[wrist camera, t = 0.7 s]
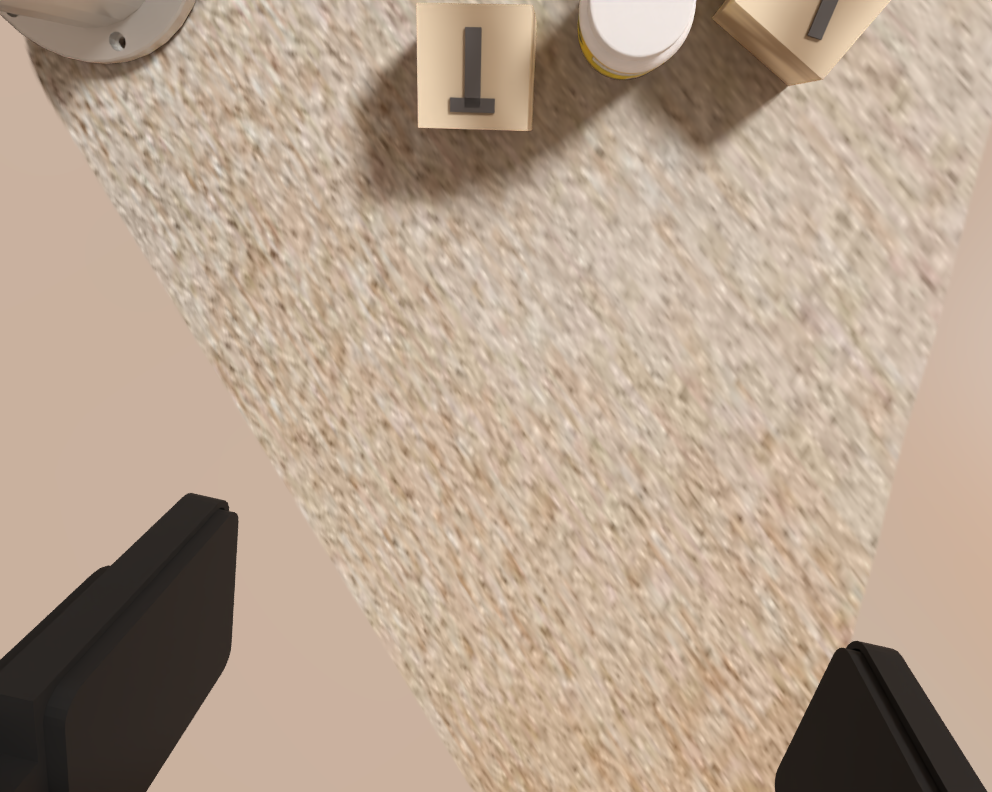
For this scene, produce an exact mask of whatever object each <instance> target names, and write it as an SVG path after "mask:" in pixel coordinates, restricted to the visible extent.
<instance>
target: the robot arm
mask: <svg viewBox="0 0 992 792" xmlns="http://www.w3.org/2000/svg"><path fill="white" fill-rule="evenodd" d="M194 3H195V0H0V15H1V16H2V17H3V18H4V19H5V20H7V21H8V22H9V23H10V24H11V25H12V26H14V28H15V29H17V30H18V31H19V32H20V33H21V34H22V35H24V36H25V37H27V38H29V39H30V40H32V41H33V42H35V43H36V44H38V45H39V46H41V47H42V48H45V49H47V50H49V51H52V52H54V53H56V54H59V55H61V56H63V57H66V58H71V59H76V60H80V61H85V62H93V63H104V64H111V63H120V62H128V61H132V60H134V59H137V58H140V57H143V56H145V55H148V54H150V53H151V52H153V51H154V50H156V49H157V48H159V47H160V46H162V45H163V44H165V43H166V42H167V41H168V40H169V39H170V38H171V37H172V36H173V35H174V34H175V33H176V32H177V31H178V29H179V28H180V27H181V26H182V25H183V23H184V21H185V20H186V18H187V16H188V14H189V13H190V11H191V9H192V8H193V6H194ZM124 41H126V46H125V45H124ZM237 536H238V515H237V514H236V513H235V512H230V511H229V506H228V503H227V502H226V501H224V500H220V499H216V498H211V497H207V496H202V495H198V494H193V493H188V494H187V495H185V496H184V497H182V498H181V499H180V500H179V501H178V502H177V503H176V504H175V505H174V506H173V507H172V508H171V509H170V510H169V511H168V512H167V513H166V514H165V515H164V516H162V517H161V519H159V520H158V521H157V522H156V523H155V524H154V525H153V526H152V527H151V528H150V529H149V530H148V531H147V532H146V533H145V534H144V535H143V536H142V537H141V538H140V539H139V540H137V542H135V543H134V544H133V545H132V546H131V547H130V548H129V549H128V550H127V551H126V552H125V553H124V554H123V555H122V556H121V557H120V558H119V559H118V560H116V561H115V562H114V563H113V564H112V565H111V566H105V567H102V568H100V569H98V570H97V571H96V572H94V573H93V574H92V575H91V576H90V577H89V578H87V579H86V580H85V581H84V582H83V583H82V584H81V585H80V586H79V587H78V588H77V589H76V590H75V591H73V592H72V593H71V594H70V595H69V596H68V597H67V598H66V599H65V600H64V601H63V602H62V603H61V604H60V605H58V606H57V607H56V608H55V609H54V610H53V611H52V612H51V613H50V614H49V615H48V616H47V617H46V618H45V619H44V620H43V621H41V622H40V623H39V624H38V625H37V626H36V627H35V628H34V629H33V630H32V631H31V632H30V633H28V635H26V636H25V637H24V638H23V639H22V640H21V641H20V642H19V643H18V644H17V645H16V646H15V647H14V648H13V649H11V651H9V652H8V653H7V654H6V655H5V656H4V657H3V658H2V659H1V660H0V792H146V791H147V790H148V788H149V786H150V785H151V783H152V782H153V780H154V779H155V777H156V775H157V774H158V772H159V771H160V769H161V768H162V766H163V764H164V763H165V761H166V760H167V758H168V757H169V755H170V753H171V752H172V750H173V749H174V747H175V746H176V744H177V743H178V741H179V739H180V738H181V736H182V734H183V733H184V731H185V730H186V728H187V727H188V725H189V724H190V722H191V720H192V719H193V717H194V716H195V714H196V712H197V711H198V710H199V708H200V706H201V705H202V703H203V702H204V700H205V699H206V697H207V695H208V694H209V692H210V691H211V689H212V688H213V686H214V684H215V683H216V681H217V680H218V678H219V677H220V675H221V673H222V672H223V670H224V668H225V666H226V663H227V661H228V658H229V655H230V651H231V642H232V625H233V607H234V590H235V572H236V553H237ZM775 792H987V791H986V789H985V787H984V786H983V784H982V783H981V781H980V779H979V778H978V776H977V775H976V773H975V772H974V770H973V768H972V767H971V765H970V764H969V762H968V760H967V759H966V757H965V756H964V754H963V752H962V751H961V749H960V748H959V746H958V745H957V743H956V741H955V740H954V738H953V737H952V735H951V733H950V732H949V730H948V729H947V727H946V726H945V724H944V722H943V721H942V719H941V718H940V716H939V714H938V713H937V711H936V710H935V708H934V706H933V705H932V704H931V702H930V700H929V699H928V697H927V695H926V694H925V692H924V691H923V689H922V687H921V686H920V684H919V683H918V681H917V680H916V678H915V677H914V675H913V673H912V672H911V670H910V668H909V667H908V665H907V664H906V662H905V660H904V659H903V657H902V656H901V655H900V654H899V652H898V651H896V650H894V649H891V648H886V647H882V646H878V645H873V644H869V643H864V642H859V641H853V642H851V643H850V644H849V645H848V646H847V647H846V648H839V649H838V650H836V652H835V653H834V655H833V657H832V659H831V661H830V663H829V665H828V667H827V669H826V671H825V673H824V675H823V677H822V679H821V681H820V683H819V685H818V688H817V690H816V692H815V694H814V696H813V698H812V700H811V702H810V704H809V706H808V708H807V710H806V712H805V714H804V716H803V718H802V720H801V722H800V724H799V727H798V729H797V731H796V733H795V735H794V737H793V739H792V741H791V743H790V745H789V747H788V749H787V751H786V753H785V755H784V757H783V759H782V761H781V763H780V766H779V768H778V770H777V773H776V777H775Z"/></svg>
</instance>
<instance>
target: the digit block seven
mask: <svg viewBox="0 0 992 792" xmlns="http://www.w3.org/2000/svg"><path fill="white" fill-rule="evenodd" d="M890 1H891V0H725V2H724V3H723V4H722V6H721V7H720V8H719V9H718V11H717V12H716V13H715V15H714V16H713V17H712V19H713V20H714V21H715V22H716V23H718V24H719V25H720V26H721V27H722V28H723V29H724V30H726V31H727V32H728V33H729V34H730V35H731V36H732V37H733V38H735V39H736V40H737V41H738V42H739V43H740V44H741V45H742V46H744V47H745V48H746V49H747V50H748V51H749V52H750V53H751V54H753V55H754V56H755V57H756V58H757V59H758V60H759V61H761V62H762V63H763V64H764V65H765V66H766V67H767V68H768V69H770V70H771V71H772V72H773V73H774V74H775V75H776V76H777V77H779V78H780V79H781V80H782V81H783V82H784V83H785V84H787V85H788V86H791V85H796V84H802V83H807V82H812V81H818V80H823V79H824V77H825V76H826V75H827V74H828V73H829V72H830V70H831V69H832V68H833V67H834V66H835V65H836V63H837V62H838V61H839V60H840V59H841V58H842V56H843V55H844V54H845V53H846V52H847V51H848V49H849V48H850V47H851V46H852V45H853V44H854V42H855V41H856V40H857V39H858V38H859V37H860V35H861V34H862V33H863V32H864V31H865V30H866V28H867V27H868V26H869V25H870V24H871V23H872V21H873V20H874V19H875V18H876V17H877V16H878V15H879V13H880V12H881V11H882V10H883V9H884V8H885V6H886V5H887V4H888V3H889V2H890Z"/></svg>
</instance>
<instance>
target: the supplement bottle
mask: <svg viewBox="0 0 992 792" xmlns="http://www.w3.org/2000/svg"><path fill="white" fill-rule="evenodd" d="M695 9H696V0H580V4H579V14H578V39H579V44H580V48H581V50H582V53H583V55H584V57H585V58H586V60H587V61H588V63H589V64H590V65H591V66H592V67H593V68H594V69H595V70H596V71H597V72H599V73H600V74H602V75H604V76H606V77H608V78H612V79H617V80H629V79H634V78H638V77H641V76H643V75H645V74H647V73H649V72H650V71H652V70H653V69H655V68H657V67H659V66H660V65H662V64H663V63H665V62H666V61H667V60H669V59H670V58H671V57H672V56H673V55H674V54H675V53H676V52H677V51H678V49H679V48H680V47H681V45H682V44H683V43H684V41H685V39H686V37H687V35H688V33H689V31H690V29H691V26H692V23H693V19H694V14H695Z"/></svg>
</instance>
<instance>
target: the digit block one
mask: <svg viewBox="0 0 992 792" xmlns="http://www.w3.org/2000/svg"><path fill="white" fill-rule="evenodd" d="M416 12H417V90H418V128H448V129H481V130H513V131H532V120H533V97H534V74H535V52H536V29H537V20H536V16H535V13H534V9H533V5H516V4H455V3H416Z"/></svg>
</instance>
